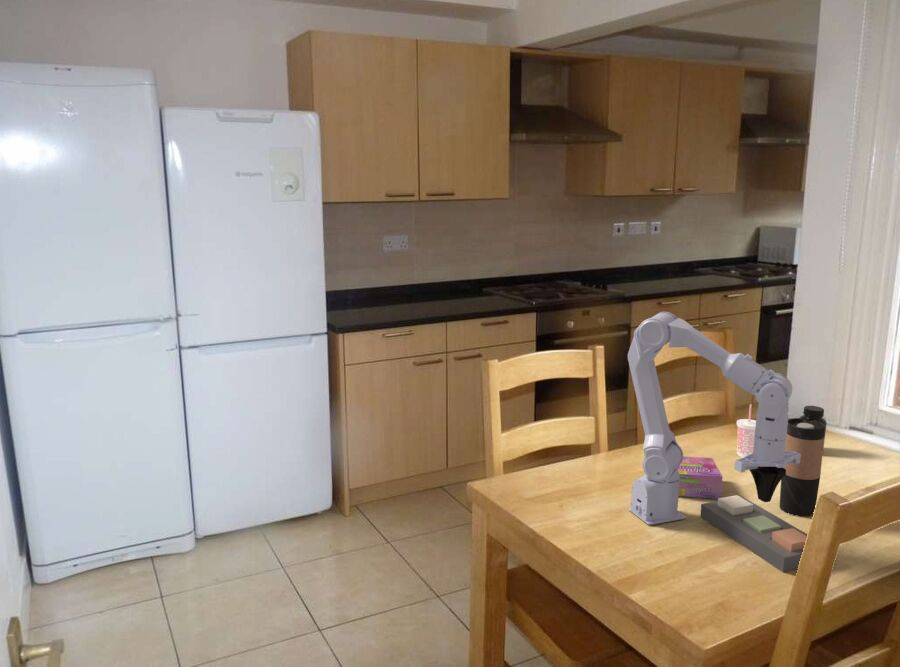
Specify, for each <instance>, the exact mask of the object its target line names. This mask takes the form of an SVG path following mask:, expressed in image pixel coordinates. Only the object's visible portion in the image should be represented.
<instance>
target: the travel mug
mask: <svg viewBox="0 0 900 667" xmlns="http://www.w3.org/2000/svg"><path fill="white" fill-rule="evenodd" d="M824 434H825V435H826V433H825V425H824V424H823V423H821V422H819V421H815V420H813V421H811V422H808V421H803V420H802V419H801V418H800V417H795V418H790V419H789V418H788V425H787V435H786V444H785V452H789V451H795V452H797V453H799V454H801V457H800V463H798V464H795V463H788V464H786V467H783V468H784V469H786V475H785V476H784V477H783V478H782V479H781V480H780V491H779V508H780V510H781V511H783V512H784V513H786V514H788V513H789V515H791V514H793V515H792V516H795V515H798V516H797V517H802V516H806V517H812V516H813V515H814V514H813V512H814V509H815V510H816V508H815V505H816V506H817V501H818V493H819V487H820V482H821V481H820V480H821V474H822V473H821V472H822V471H821V470H822V462H823V453H824V448H823V444H824V445H825V441H824Z"/></svg>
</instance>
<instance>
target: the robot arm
mask: <svg viewBox="0 0 900 667" xmlns="http://www.w3.org/2000/svg"><path fill="white" fill-rule="evenodd" d="M668 343H669V344H668ZM667 344H668V348H687V349H689V350H691V351H692V352H694V353H695V354H697V355H699V356H700V357H702V358H705V359H706V360H708V361H709V362H711V363H713V364H714V365H716V366H718V367H719V368H721V371H722V375H723V377H724V378H726V379H727V380H728V381H730V382H732V383H733V384H735V385H737V386H738V388H741V389H742V390H744V391H745V392H747V393H749V394H750V395H753V396H755V400H756V402H757V404H758V406H757V412H756V418H755V420H756V427H755V437H754V448H753V453H752V454H750V455H748V456H746V457H744V458H743V457H740V458H739V459H738V458H737V459H735V460H734V466H733V467H734V468H733V469H734V470H735V471H737V472H739V473H746V471H748V470H749V472H750V473H751V475H752V478H753V480H754V485H755V488H756V493H757V499H758V500H760V501H762V503H763V502H764V503H769V502H771V500H772V498H773V496H774V494H775V492H776V489H777V487H778V485H779V483H781V479H782V478H783V477H784V476H785V475H786V469H784V468H783V467H786V464H788V463H795V464H798V463H800V457H801V454H799V453H797V452H795V451H789V452H785V444H786V435H787V425H788V420H789V413H788V412H789V409H790V408H789V401H790V398H791V396H792V394H793V385H792V383H791V381H790V380H789V379H788V378H787V377H786V376H785V375H784V374H783V373H778V372H776V371H774V370H773V369H766V368H765V366H762V365H761V364H760V363H758V362H756V361H754V360H753V358H754V356H752V355H750V354H749V353H747V354H746V355H745V354H743V353H742V352H738V353H730V352H729V351H727V350H726V349H725V348H723V347H722V346H720V345H719V344H718V343H716V342H715V341H713V340H712V339H711V338H709V337H708V336H707V335H705V334H703V333H702V332H701V331H699V330H697V329H696V328H694V327H693V326H692V325H691V324H690V323H688V322H687V321H686V320H685V319H683V318H680V317H677V316H676V315H675V314H674V313H672V312H669V311H661V312H658V313H656V314H655V315H653V316H652V317H650V318H646V319H645V320H643V321H642V322H641V323H640V324H639V325H638V327H636V329H635V330H634V331H633V338H632V341H631V344H630V347H629V350H628V353H627V361H628V365H629V369H630V370H629V371H630V374H631V379H632V383H633V387H634V391H635V392H634V393H635V395H636V400H637V401H636V402H637V405H638V410H639V413H640V418H641V424H642V427H643V431H644V441H643V447H642V450H643V453H644V454H643V456H644V457H643V461H642V469H643V473H644V475H642V476H641V477H639V478H636V479H634V481H633V482H632V485H631V502H630V507H629V508H628V511H630V512H631V513H633V515H635V516H636V517H637V518H639V519H640V520H641V521H642V522H644V523H645V524H647V525H649V526H652V525H658V524H662V523H669V522H673V521H680V520H685V519H686V518H687V516H686V515H685V514H684V513H682V512H680V511H679V510H678V508H679V497H678V495H679V480H680V474H679V472H678V469H677V467H678V466H679V465H680V464H681V463H682V461H683V456H684V451H683V449H682V446H680V444H679V443H678V441H677V440H676V435H675V434H674V433H673V432H672V430H671V429H670V426H669V422H668V417H667V412H666V407H665V402H664V398H663V394H662V389H661V386H660V382H659V377H658V374H657V372H658V371H657V367H656V362H655V358H656V357H657V355H658V354H659V353H660V352H661V350H662V349H663V347H664V346H665V345H667Z"/></svg>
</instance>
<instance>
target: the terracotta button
mask: <svg viewBox="0 0 900 667" xmlns="http://www.w3.org/2000/svg"><path fill="white" fill-rule="evenodd" d="M806 538H807V536H806V535H804V534H802V533H801V532H799V531H797V530H796V529H794V528H790V529H785V530H780V531H775V532H772V540H773V541H774V542H776V543H777V544H779V545H781V546H782V547H784V548H785V549H787V550H788V551H790V552H794V551H799V550H803V548H804V545H805V541H806Z"/></svg>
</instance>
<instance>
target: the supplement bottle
mask: <svg viewBox="0 0 900 667" xmlns="http://www.w3.org/2000/svg"><path fill="white" fill-rule="evenodd" d="M802 413H803V415H801V416H800V417H799V418H801V419H802V420H803V421H808V422H811V421H813V420H815V421H819V422H821V423H823V424H824V425H825V434H824V442H825V440H826V431H827V425H828V424H827V421H826V419H825V418H823V417H824V416H825V409H824V408H823V407H821V406H816V405H805V406H803V412H802ZM824 447H825V443H824V444H823V449H825V448H824Z"/></svg>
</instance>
